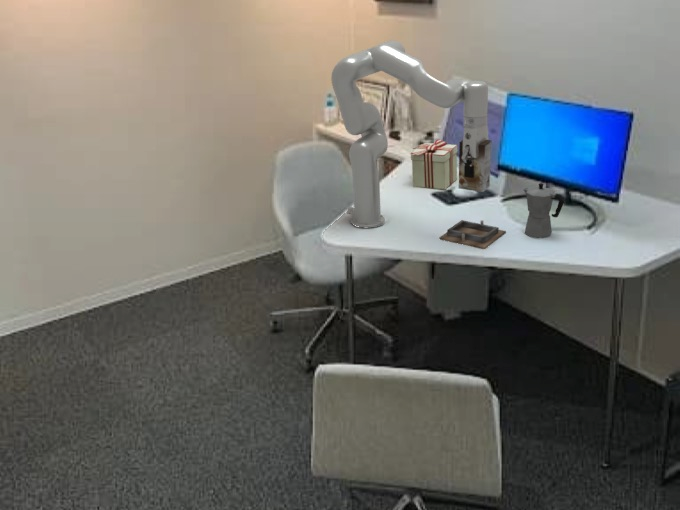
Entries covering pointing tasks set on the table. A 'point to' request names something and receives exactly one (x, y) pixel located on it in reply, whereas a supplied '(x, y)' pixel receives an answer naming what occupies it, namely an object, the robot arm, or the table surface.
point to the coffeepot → (541, 211)
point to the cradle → (472, 234)
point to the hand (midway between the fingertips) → (474, 173)
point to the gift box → (434, 165)
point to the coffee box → (476, 168)
